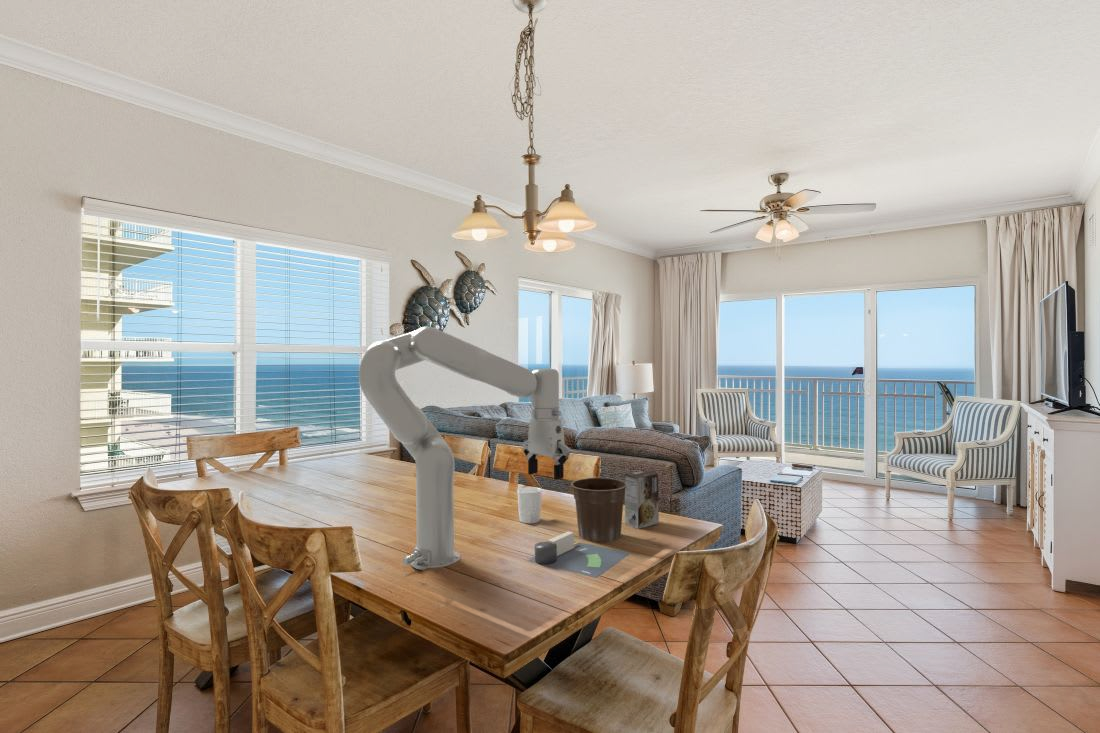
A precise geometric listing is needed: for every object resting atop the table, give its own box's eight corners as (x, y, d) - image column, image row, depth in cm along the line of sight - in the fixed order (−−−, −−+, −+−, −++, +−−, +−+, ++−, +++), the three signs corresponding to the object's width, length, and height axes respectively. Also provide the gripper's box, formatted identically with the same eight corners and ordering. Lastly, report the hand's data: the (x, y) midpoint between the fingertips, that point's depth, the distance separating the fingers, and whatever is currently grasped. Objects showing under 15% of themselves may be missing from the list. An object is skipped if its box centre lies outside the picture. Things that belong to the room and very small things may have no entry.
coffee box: (644, 518, 177) (644, 469, 177) (659, 523, 172) (659, 473, 172) (623, 524, 172) (623, 473, 172) (638, 529, 167) (638, 476, 167)
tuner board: (596, 581, 128) (596, 577, 128) (527, 564, 139) (527, 560, 139) (630, 556, 144) (630, 552, 144) (566, 542, 155) (566, 538, 155)
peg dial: (547, 565, 135) (547, 548, 135) (530, 560, 139) (530, 543, 139) (586, 545, 149) (586, 530, 149) (570, 541, 152) (570, 526, 152)
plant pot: (559, 537, 160) (559, 482, 160) (598, 525, 170) (598, 474, 170) (599, 552, 148) (599, 493, 147) (638, 539, 158) (638, 483, 158)
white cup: (543, 517, 180) (543, 487, 180) (540, 524, 172) (540, 493, 172) (519, 516, 181) (519, 486, 181) (515, 523, 173) (515, 492, 173)
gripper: (578, 414, 146) (578, 478, 146) (532, 410, 158) (532, 469, 158) (559, 417, 140) (560, 483, 141) (513, 412, 152) (513, 473, 152)
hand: (545, 476), depth 149 cm, fingers open, 9 cm apart
